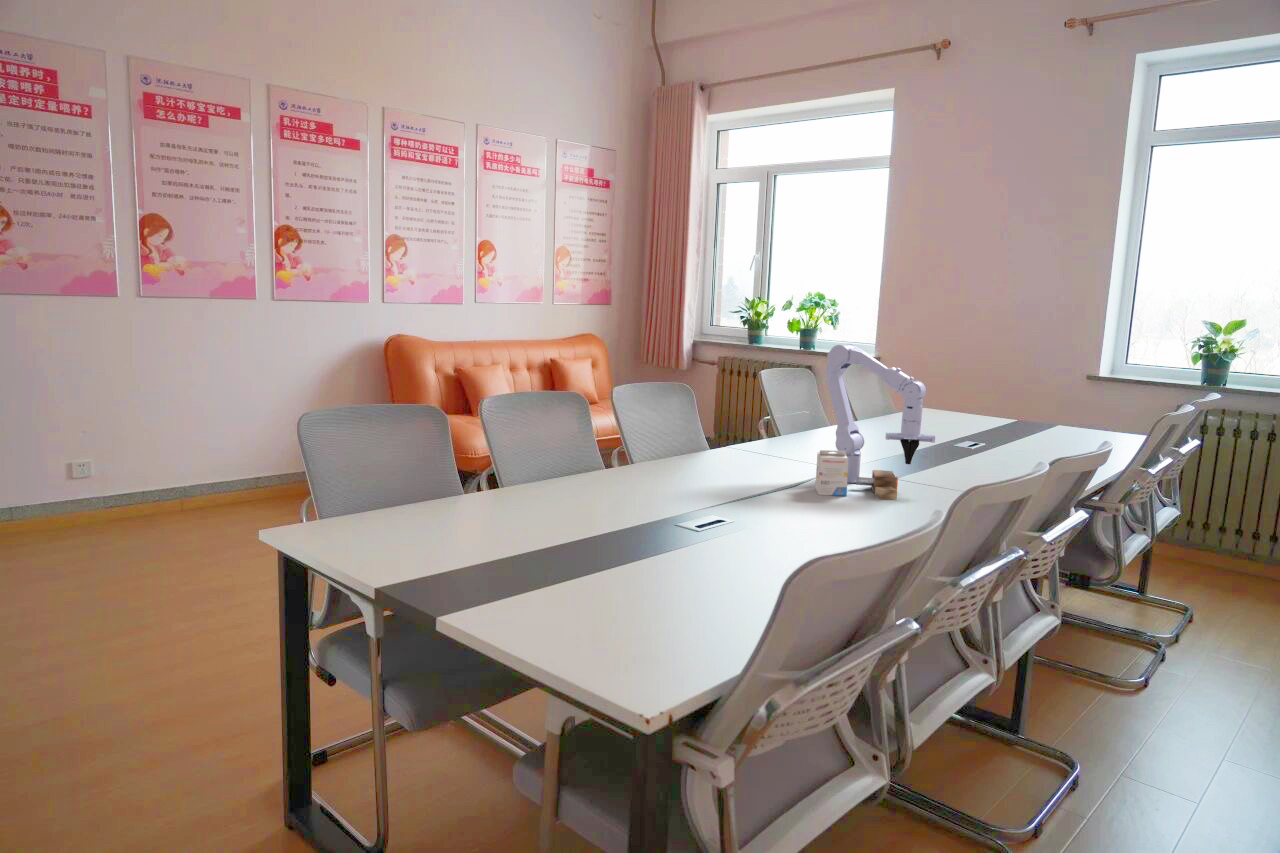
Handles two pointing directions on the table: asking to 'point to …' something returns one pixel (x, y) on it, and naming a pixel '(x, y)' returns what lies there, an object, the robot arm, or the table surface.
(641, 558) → the table surface
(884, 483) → the block
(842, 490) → the ink box
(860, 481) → the pin
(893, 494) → the block
